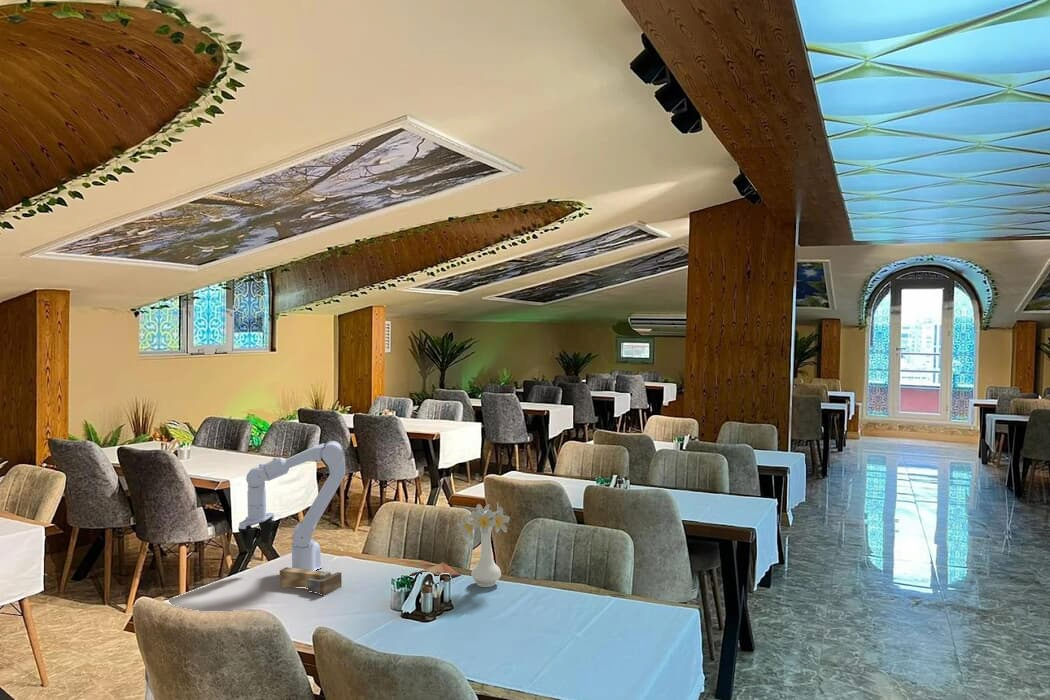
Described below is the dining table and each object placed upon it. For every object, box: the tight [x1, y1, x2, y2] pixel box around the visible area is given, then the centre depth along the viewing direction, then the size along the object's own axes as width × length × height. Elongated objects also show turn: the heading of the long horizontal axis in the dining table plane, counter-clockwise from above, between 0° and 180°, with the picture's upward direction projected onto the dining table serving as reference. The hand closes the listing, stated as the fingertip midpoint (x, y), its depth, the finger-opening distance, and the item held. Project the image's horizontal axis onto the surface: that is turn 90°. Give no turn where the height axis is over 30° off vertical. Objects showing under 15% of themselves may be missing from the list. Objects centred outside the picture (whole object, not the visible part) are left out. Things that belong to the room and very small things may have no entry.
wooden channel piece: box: [307, 571, 343, 596], centre depth 250 cm, size 6×9×4 cm
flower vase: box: [456, 502, 511, 588], centre depth 254 cm, size 13×18×25 cm
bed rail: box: [279, 566, 332, 588], centre depth 253 cm, size 16×4×5 cm, turn 72°
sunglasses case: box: [408, 561, 462, 579], centre depth 260 cm, size 18×7×7 cm
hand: (257, 545), depth 265 cm, fingers open, 7 cm apart
